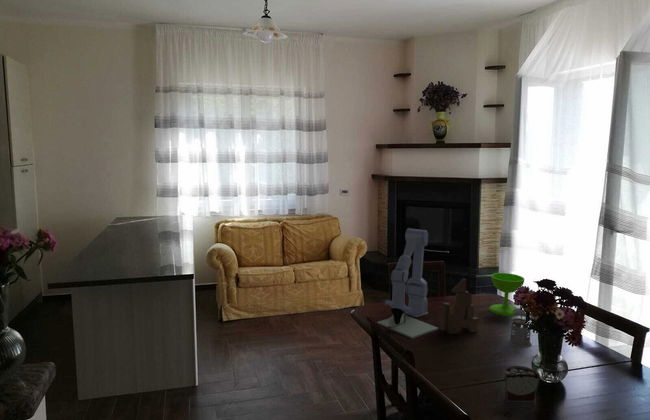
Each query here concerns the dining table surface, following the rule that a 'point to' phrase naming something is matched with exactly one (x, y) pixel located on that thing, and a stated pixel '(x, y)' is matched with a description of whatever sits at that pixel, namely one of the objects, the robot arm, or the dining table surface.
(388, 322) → the board
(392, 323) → the fence panel
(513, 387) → the food container
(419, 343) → the dining table surface
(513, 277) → the wineglass
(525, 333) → the grey box grater
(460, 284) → the wooden toy
